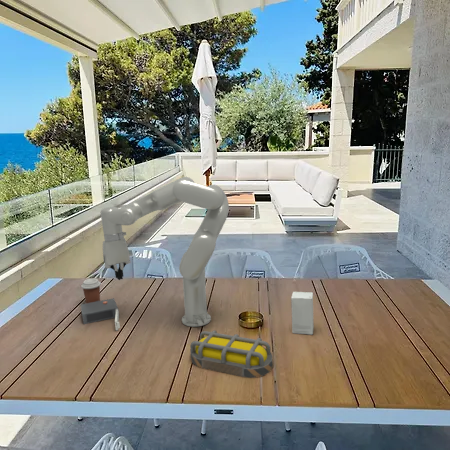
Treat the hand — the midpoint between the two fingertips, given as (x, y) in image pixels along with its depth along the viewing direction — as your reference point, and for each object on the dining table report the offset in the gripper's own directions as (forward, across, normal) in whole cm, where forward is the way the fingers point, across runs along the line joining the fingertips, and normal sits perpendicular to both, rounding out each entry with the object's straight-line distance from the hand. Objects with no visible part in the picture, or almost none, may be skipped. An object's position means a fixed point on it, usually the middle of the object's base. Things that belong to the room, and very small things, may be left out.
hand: (119, 278), depth 169 cm
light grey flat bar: (+20, +3, -1) cm, 20 cm away
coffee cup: (+20, +7, -30) cm, 36 cm away
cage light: (+23, -22, +51) cm, 60 cm away
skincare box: (+24, -57, +49) cm, 79 cm away
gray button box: (+20, +8, -15) cm, 26 cm away
